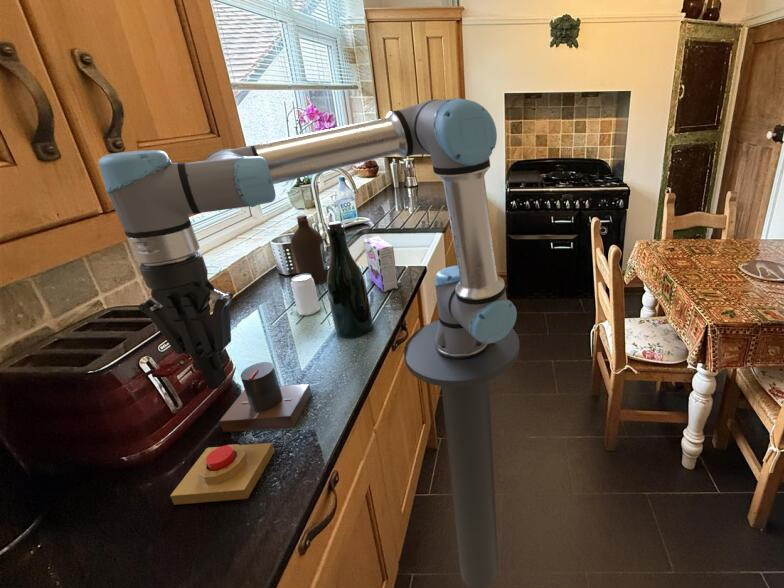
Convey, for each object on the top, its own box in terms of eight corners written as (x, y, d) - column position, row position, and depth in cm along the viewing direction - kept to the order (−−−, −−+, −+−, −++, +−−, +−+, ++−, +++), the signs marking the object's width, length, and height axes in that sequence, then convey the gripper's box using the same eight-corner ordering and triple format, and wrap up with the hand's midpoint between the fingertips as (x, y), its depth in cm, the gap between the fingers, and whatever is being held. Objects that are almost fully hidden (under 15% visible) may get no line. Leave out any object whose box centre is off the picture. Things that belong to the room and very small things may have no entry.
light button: (240, 451, 74) (237, 444, 73) (227, 470, 70) (224, 462, 69) (217, 453, 73) (214, 446, 73) (203, 472, 70) (200, 464, 69)
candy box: (369, 280, 151) (363, 238, 145) (384, 275, 155) (379, 235, 149) (383, 292, 141) (376, 249, 135) (399, 288, 144) (393, 245, 138)
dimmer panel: (312, 394, 93) (309, 383, 92) (293, 427, 83) (289, 415, 82) (249, 398, 92) (245, 387, 91) (222, 432, 82) (218, 420, 81)
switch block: (275, 451, 78) (270, 435, 76) (247, 498, 69) (241, 481, 67) (210, 456, 77) (204, 440, 76) (173, 505, 68) (166, 488, 66)
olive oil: (300, 288, 146) (284, 222, 137) (299, 277, 155) (285, 214, 145) (331, 281, 150) (318, 217, 141) (329, 272, 159) (317, 210, 150)
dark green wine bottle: (373, 335, 116) (354, 225, 104) (334, 341, 113) (310, 230, 101) (373, 317, 125) (356, 215, 113) (337, 323, 122) (315, 219, 110)
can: (323, 306, 133) (316, 273, 128) (314, 316, 127) (306, 281, 122) (304, 306, 133) (296, 273, 128) (294, 316, 127) (285, 281, 122)
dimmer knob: (259, 392, 89) (249, 361, 86) (287, 390, 90) (278, 359, 87) (244, 412, 84) (234, 379, 80) (274, 410, 84) (265, 377, 81)
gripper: (102, 269, 56) (162, 402, 65) (200, 264, 57) (246, 395, 66) (143, 250, 63) (192, 372, 72) (229, 245, 64) (267, 366, 73)
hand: (218, 383), depth 69 cm, fingers closed
